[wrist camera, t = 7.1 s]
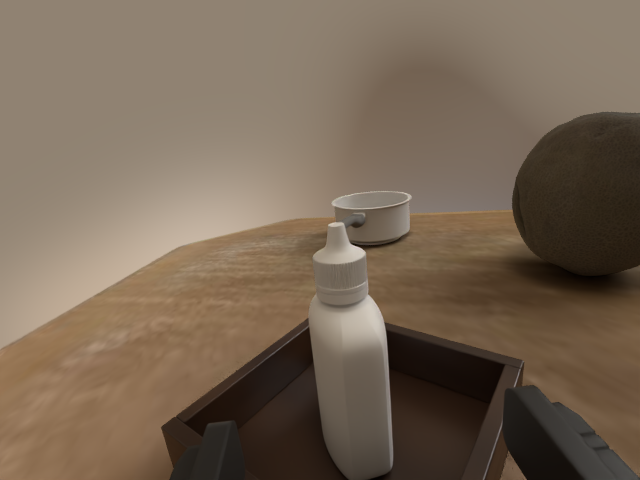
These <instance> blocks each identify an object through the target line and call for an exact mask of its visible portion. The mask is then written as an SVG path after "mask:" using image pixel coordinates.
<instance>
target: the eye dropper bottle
mask: <svg viewBox="0 0 640 480" xmlns="http://www.w3.org/2000/svg"><path fill="white" fill-rule="evenodd" d="M312 259H313V268H314V276H315V285H316V295H315V296H314V298H313V299H312V301H311V304H310V307H309V316H308V317H309V328H310V337H311V345H312V353H313V361H314V368H315V376H316V384H317V392H318V400H319V408H320V416H321V424H322V431H323V436H324V440H325V444H326V447H327V449H328V452H329V454H330V456H331V458H332V459H333V461H334V463H335V464H336V466H337V467H338V469H339V470H340V471H341V472H342V474H343V475H344V476H345V477H346V478H347V479H349V480H368V479H371V478H375V477H378V476H381V475H384V474H386V473H388V472H389V471H390V470H391V468H392V466H393V440H392V421H391V401H390V383H389V365H388V349H387V336H386V329H385V324H384V320H383V317H382V314H381V312H380V310H379V308H378V306H377V305H376V303H375V302H374V300H373V299H372V298H371V297H370V296H369V295H368V278H367V263H366V252H365V251H364V250H363V249H361V248H360V247H357V246H353V245H351V243H350V242H349V239H348V236H347V232H346V229H345V225H344V223H342V222H335V223H331V224H329V225H328V234H327V243H326V246H325V247H324V248H323V249H321V250H319V251H317V252H316V253H315V254H314V255H313V258H312Z"/></svg>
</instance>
